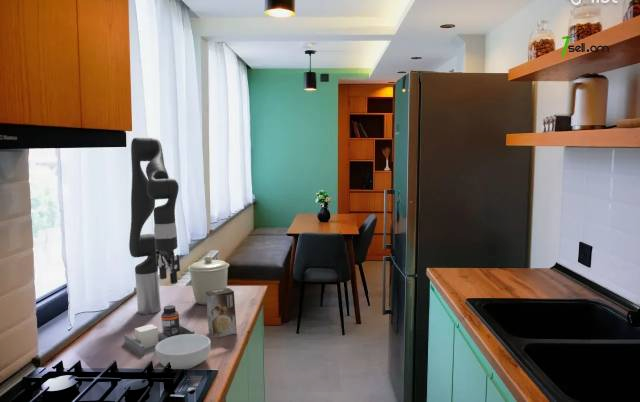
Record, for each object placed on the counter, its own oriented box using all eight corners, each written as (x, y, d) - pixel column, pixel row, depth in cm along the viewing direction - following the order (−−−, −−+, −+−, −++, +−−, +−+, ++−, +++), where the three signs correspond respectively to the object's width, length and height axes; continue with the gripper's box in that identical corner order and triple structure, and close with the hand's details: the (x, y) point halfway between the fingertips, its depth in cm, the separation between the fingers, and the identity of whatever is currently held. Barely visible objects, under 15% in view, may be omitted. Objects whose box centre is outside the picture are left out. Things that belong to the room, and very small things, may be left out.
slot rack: (123, 347, 171) (122, 335, 170) (177, 332, 184) (176, 320, 183) (140, 360, 159) (139, 347, 159) (196, 342, 173) (195, 330, 172)
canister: (239, 299, 223) (237, 253, 221) (210, 310, 208) (207, 261, 206) (210, 293, 233) (208, 250, 231) (181, 304, 218) (178, 258, 216)
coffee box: (231, 328, 186) (229, 287, 184) (237, 333, 180) (234, 291, 179) (207, 333, 182) (205, 291, 180) (212, 338, 176) (210, 295, 175)
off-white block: (135, 345, 168) (134, 328, 168) (152, 340, 172) (151, 324, 172) (141, 349, 165) (140, 332, 164) (158, 344, 169) (157, 327, 168)
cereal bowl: (175, 382, 143) (173, 359, 143) (146, 366, 155) (144, 345, 154) (222, 362, 156) (221, 341, 155) (192, 349, 167) (191, 329, 166)
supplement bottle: (171, 333, 179) (169, 303, 178) (183, 335, 176) (181, 305, 175) (159, 339, 173) (157, 308, 172) (171, 341, 171) (169, 310, 170)
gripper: (147, 235, 174) (150, 279, 176) (164, 239, 163) (167, 287, 165) (167, 232, 179) (169, 275, 181) (185, 236, 168) (187, 282, 170)
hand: (168, 281), depth 173 cm, fingers open, 8 cm apart
